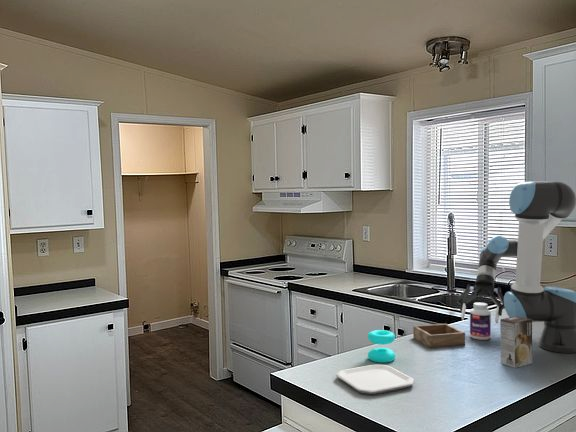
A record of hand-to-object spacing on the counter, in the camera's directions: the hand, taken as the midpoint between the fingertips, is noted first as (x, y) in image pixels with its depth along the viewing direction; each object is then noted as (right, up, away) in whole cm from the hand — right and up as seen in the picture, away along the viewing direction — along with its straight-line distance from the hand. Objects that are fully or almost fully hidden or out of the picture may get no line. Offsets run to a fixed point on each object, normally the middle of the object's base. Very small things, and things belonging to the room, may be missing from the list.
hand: (479, 319), depth 218 cm
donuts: (-45, -10, -25) cm, 53 cm away
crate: (-18, -8, -4) cm, 20 cm away
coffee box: (+1, -9, -32) cm, 34 cm away
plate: (-52, -11, -48) cm, 71 cm away
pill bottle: (+1, -8, 0) cm, 8 cm away
